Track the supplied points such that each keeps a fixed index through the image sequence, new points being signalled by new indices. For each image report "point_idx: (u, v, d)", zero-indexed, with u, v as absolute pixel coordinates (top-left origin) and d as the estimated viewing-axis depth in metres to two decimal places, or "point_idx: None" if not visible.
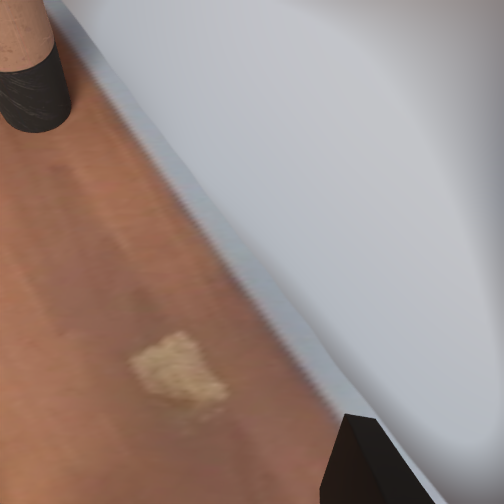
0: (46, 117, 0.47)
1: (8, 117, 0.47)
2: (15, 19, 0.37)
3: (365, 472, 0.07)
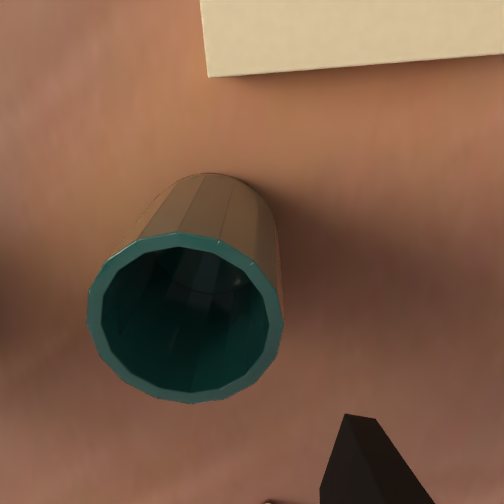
0: None
1: None
2: None
3: (365, 472, 0.07)
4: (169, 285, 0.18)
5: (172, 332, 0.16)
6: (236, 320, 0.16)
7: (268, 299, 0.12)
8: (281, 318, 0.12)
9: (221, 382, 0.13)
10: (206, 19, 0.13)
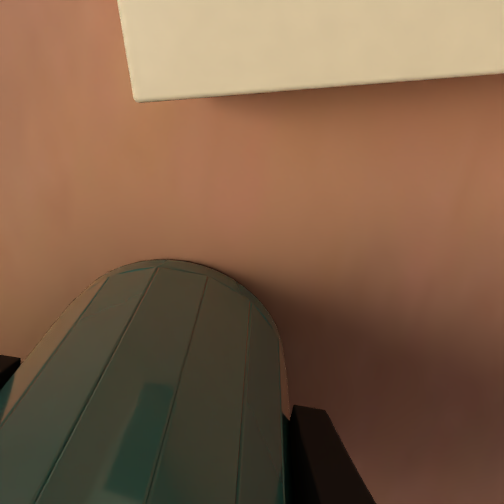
0: None
1: None
2: None
3: (304, 462, 0.07)
4: None
5: None
6: None
7: None
8: None
9: None
10: None
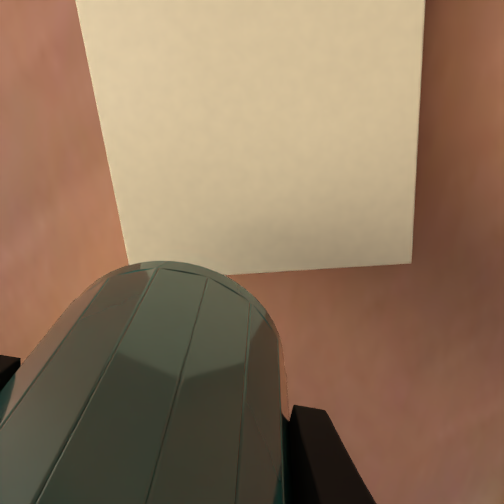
0: None
1: None
2: None
3: (304, 463, 0.07)
4: None
5: None
6: None
7: None
8: None
9: None
10: (127, 238, 0.14)
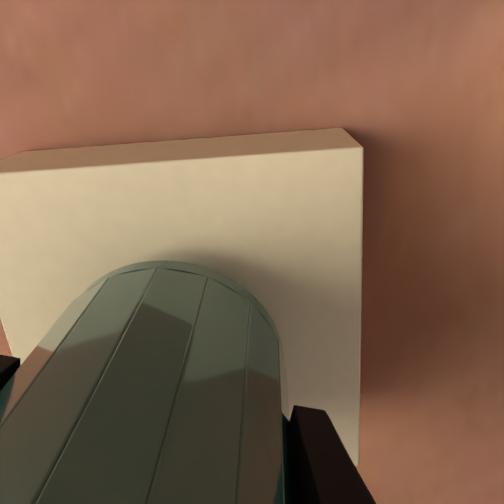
0: None
1: None
2: None
3: (304, 463, 0.07)
4: None
5: None
6: None
7: None
8: None
9: None
10: None
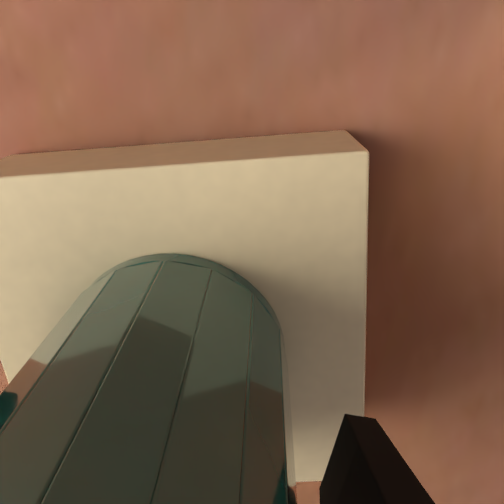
0: None
1: None
2: None
3: (365, 472, 0.07)
4: None
5: None
6: None
7: None
8: None
9: None
10: None
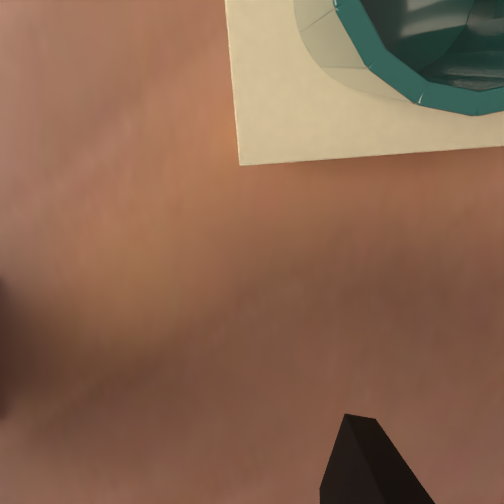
0: None
1: None
2: None
3: (365, 472, 0.07)
4: None
5: None
6: (465, 65, 0.11)
7: None
8: None
9: None
10: (239, 116, 0.14)
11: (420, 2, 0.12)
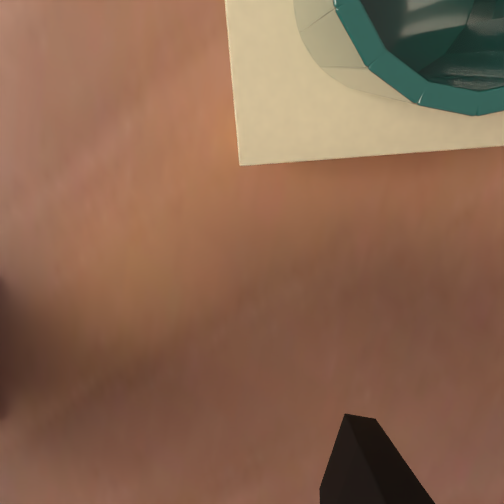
0: None
1: None
2: None
3: (365, 472, 0.07)
4: None
5: None
6: (465, 65, 0.11)
7: None
8: None
9: None
10: (239, 116, 0.14)
11: (420, 2, 0.12)
